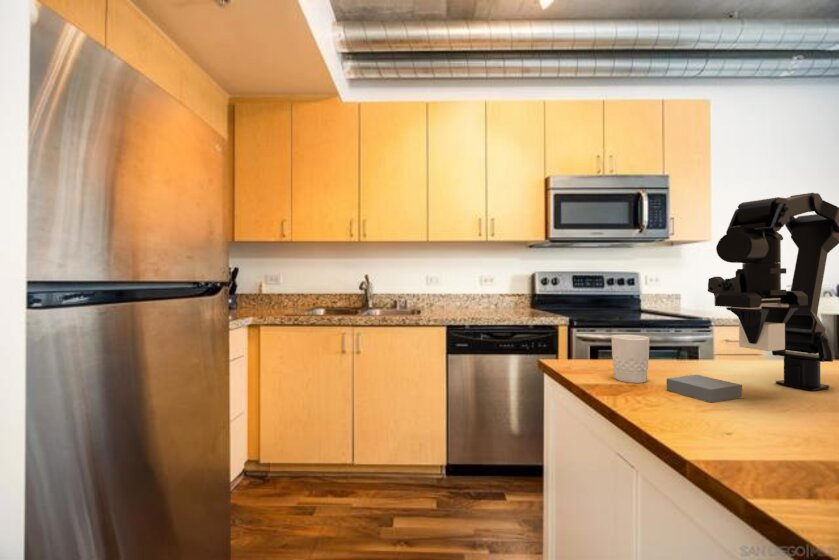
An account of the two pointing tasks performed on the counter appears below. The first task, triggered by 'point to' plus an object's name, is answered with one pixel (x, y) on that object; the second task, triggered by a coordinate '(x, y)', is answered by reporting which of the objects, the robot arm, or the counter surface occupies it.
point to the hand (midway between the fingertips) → (761, 342)
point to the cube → (765, 337)
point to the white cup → (630, 357)
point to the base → (704, 388)
